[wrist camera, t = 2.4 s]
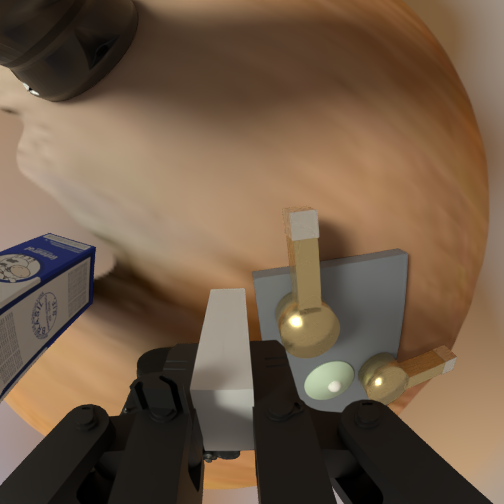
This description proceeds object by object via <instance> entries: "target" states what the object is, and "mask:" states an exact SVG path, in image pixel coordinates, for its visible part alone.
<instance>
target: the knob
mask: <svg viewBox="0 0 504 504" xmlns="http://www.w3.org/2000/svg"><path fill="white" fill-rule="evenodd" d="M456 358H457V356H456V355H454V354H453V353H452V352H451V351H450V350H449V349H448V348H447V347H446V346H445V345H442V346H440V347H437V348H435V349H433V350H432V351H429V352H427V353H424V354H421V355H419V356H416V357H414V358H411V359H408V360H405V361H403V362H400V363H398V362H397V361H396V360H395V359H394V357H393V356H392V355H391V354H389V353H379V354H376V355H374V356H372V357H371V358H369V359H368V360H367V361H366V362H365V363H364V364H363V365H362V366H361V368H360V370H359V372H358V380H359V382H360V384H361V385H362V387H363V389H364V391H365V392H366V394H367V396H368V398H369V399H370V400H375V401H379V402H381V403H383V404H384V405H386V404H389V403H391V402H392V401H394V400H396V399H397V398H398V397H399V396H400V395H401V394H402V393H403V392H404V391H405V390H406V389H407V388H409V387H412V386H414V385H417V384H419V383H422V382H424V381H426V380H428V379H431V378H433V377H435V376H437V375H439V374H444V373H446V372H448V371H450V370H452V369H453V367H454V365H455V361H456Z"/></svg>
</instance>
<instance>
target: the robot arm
mask: <svg viewBox="0 0 504 504" xmlns="http://www.w3.org/2000/svg"><path fill="white" fill-rule="evenodd" d="M137 24H138V14H137V10H136V8H135V6H134V4H133V3H132V1H131V0H0V65H2V66H5V67H7V68H9V69H10V70H11V71H12V72H13V74H14V75H15V76H16V77H17V78H18V79H19V80H20V81H21V82H23V85H24V86H25V88H26V89H27V90H28V91H29V92H30V93H31V94H33V95H34V96H37V97H39V98H42V99H45V100H48V101H62V100H66V99H69V98H72V97H75V96H77V95H79V94H81V93H83V92H84V91H86V90H88V89H89V88H91V87H92V86H93V85H95V84H96V83H97V82H98V81H100V80H101V79H102V78H103V77H104V76H105V75H106V74H108V73H109V72H110V70H111V69H112V68H113V67H114V66H115V65H116V64H117V63H118V62H119V60H120V59H121V58H122V56H123V55H124V54H125V52H126V51H127V49H128V47H129V46H130V44H131V42H132V40H133V38H134V35H135V32H136V29H137ZM130 389H131V392H132V395H133V397H134V400H135V402H136V405H137V407H138V412H136V413H133V414H129V415H120V416H108V414H107V412H106V410H104V409H103V408H101V407H100V406H97V405H93V404H87V405H81V406H78V407H76V408H74V409H73V410H71V411H70V412H69V413H68V414H67V415H66V416H65V417H64V418H63V419H62V420H61V421H60V422H59V423H58V424H57V425H56V426H55V427H54V429H53V430H52V431H51V432H50V433H49V434H48V435H47V436H46V437H45V438H44V439H43V440H42V441H41V442H40V443H39V444H38V445H37V446H36V448H35V449H34V450H33V451H32V452H31V453H30V454H29V455H28V456H27V457H26V458H25V459H24V460H23V461H22V463H21V464H20V465H19V466H18V467H17V468H16V469H15V470H14V471H13V472H12V473H11V474H10V476H9V477H8V478H7V479H6V480H5V481H4V482H3V483H2V485H1V486H0V504H202V496H203V480H204V466H205V465H204V460H203V457H202V450H203V445H204V448H205V451H243V450H255V466H256V478H257V488H258V501H259V504H337V502H336V498H335V495H334V492H333V488H334V490H335V491H336V493H337V494H338V496H339V497H340V499H341V500H342V501H343V503H344V504H493V503H492V502H491V501H490V500H489V499H487V498H486V497H485V496H484V495H483V494H482V493H481V492H479V491H478V490H477V489H476V488H475V487H474V486H473V485H472V484H471V483H469V482H468V481H467V480H466V479H465V478H464V477H463V476H462V475H460V474H459V473H458V472H457V471H456V470H455V469H454V468H453V467H452V466H451V465H450V464H448V463H447V462H446V461H445V460H444V459H443V458H442V457H441V456H439V454H437V453H436V452H435V451H434V450H433V449H432V448H431V447H430V446H429V445H428V444H426V442H425V441H423V440H422V439H421V438H420V437H419V436H418V435H417V434H416V433H415V432H414V431H413V430H412V429H411V428H410V427H409V426H408V425H407V424H405V423H404V422H403V421H402V420H401V419H400V418H399V417H398V416H397V415H396V414H395V413H394V412H393V411H392V410H391V409H390V408H389V407H387V406H386V405H384V404H383V403H381V402H379V401H375V400H368V399H362V400H358V401H354V402H352V403H350V404H349V405H347V406H346V407H345V408H344V410H343V411H342V412H329V411H321V410H317V409H314V408H311V407H309V406H308V405H306V404H305V402H304V401H303V400H301V399H300V397H299V395H298V391H297V388H296V384H295V381H294V378H293V374H292V371H291V367H290V364H289V360H288V358H287V353H286V350H285V347H284V346H283V345H282V344H281V343H280V342H279V341H277V340H264V341H249V335H248V323H247V311H246V299H245V288H237V289H211V292H210V296H209V301H208V305H207V310H206V314H205V319H204V323H203V328H202V332H201V337H200V342H199V344H179V343H178V344H177V345H175V346H174V347H173V348H172V349H171V350H170V351H169V353H168V356H167V359H166V362H165V364H164V367H163V370H162V372H153V373H148V374H145V375H142V376H140V377H139V378H137V379H136V380H134V381H133V383H132V384H131V385H130ZM332 487H333V488H332Z"/></svg>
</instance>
